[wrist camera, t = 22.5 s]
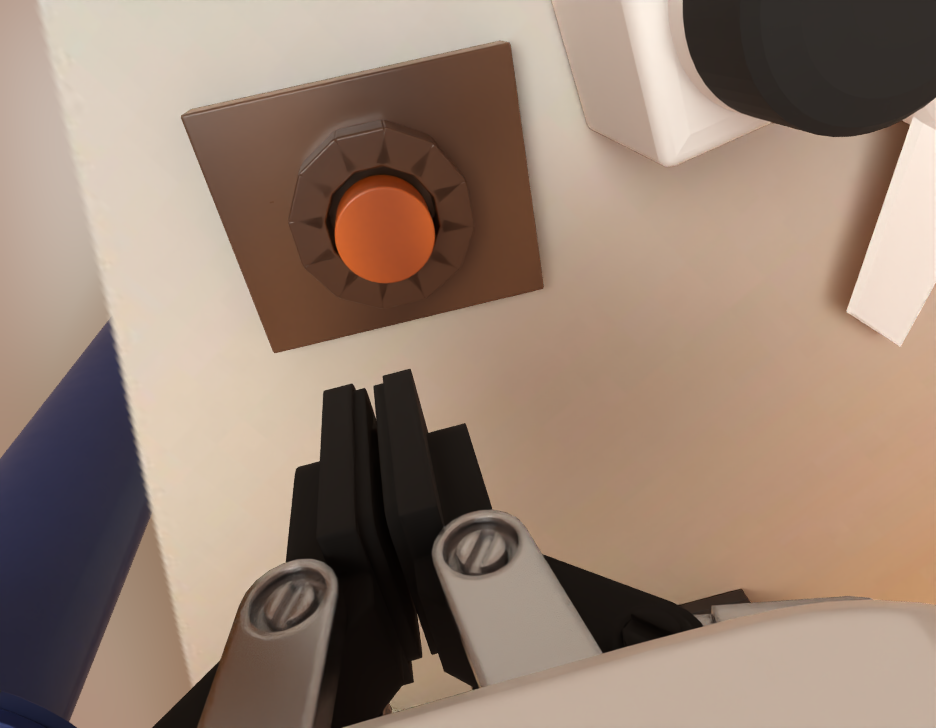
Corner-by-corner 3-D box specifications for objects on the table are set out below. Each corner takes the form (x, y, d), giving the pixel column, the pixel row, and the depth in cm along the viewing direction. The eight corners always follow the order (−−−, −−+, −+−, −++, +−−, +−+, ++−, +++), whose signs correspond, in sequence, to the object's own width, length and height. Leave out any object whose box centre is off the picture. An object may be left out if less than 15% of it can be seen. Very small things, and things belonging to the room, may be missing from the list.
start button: (350, 275, 23) (350, 293, 21) (323, 186, 21) (321, 200, 20) (438, 254, 23) (444, 271, 21) (418, 164, 21) (423, 176, 20)
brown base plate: (277, 338, 26) (268, 374, 24) (188, 109, 22) (166, 123, 19) (536, 276, 27) (555, 304, 24) (502, 40, 22) (521, 44, 20)
